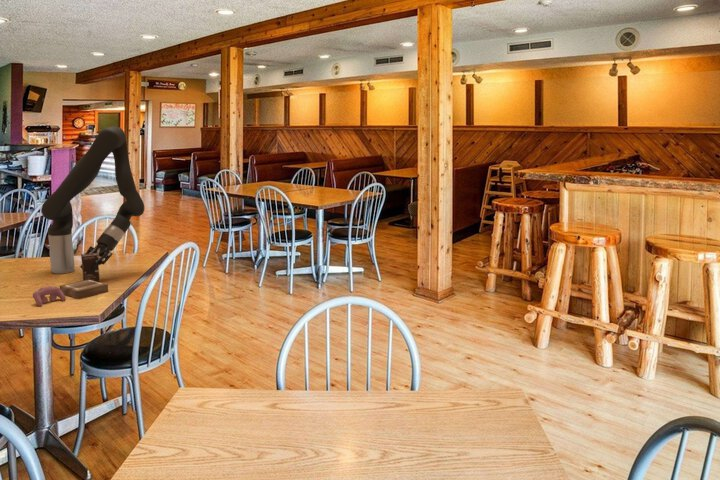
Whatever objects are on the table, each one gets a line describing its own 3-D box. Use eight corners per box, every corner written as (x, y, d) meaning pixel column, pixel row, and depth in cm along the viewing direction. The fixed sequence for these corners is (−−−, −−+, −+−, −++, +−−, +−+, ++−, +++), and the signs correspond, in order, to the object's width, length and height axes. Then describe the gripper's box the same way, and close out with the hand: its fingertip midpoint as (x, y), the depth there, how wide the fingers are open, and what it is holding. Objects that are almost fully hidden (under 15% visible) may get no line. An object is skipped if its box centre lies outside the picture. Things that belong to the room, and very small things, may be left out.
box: (84, 284, 222) (82, 256, 220) (83, 282, 226) (80, 254, 224) (100, 282, 226) (98, 254, 223) (98, 280, 229) (96, 252, 227)
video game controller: (62, 302, 203) (56, 285, 204) (67, 299, 201) (61, 282, 201) (34, 309, 195) (29, 291, 196) (40, 306, 193) (33, 288, 193)
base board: (60, 293, 210) (59, 285, 209) (89, 286, 220) (88, 278, 219) (78, 299, 203) (78, 290, 202) (108, 291, 213) (107, 283, 212)
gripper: (94, 230, 232) (70, 262, 224) (114, 234, 224) (89, 267, 217) (107, 240, 237) (83, 272, 230) (126, 244, 230) (103, 277, 222)
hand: (86, 269), depth 223 cm, fingers closed on box, 6 cm apart
